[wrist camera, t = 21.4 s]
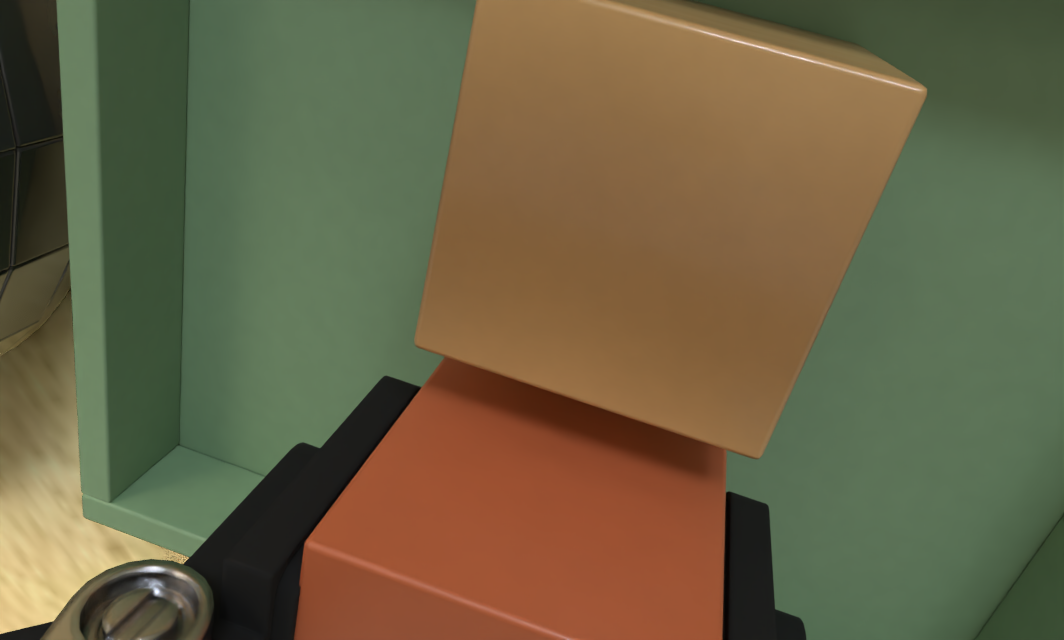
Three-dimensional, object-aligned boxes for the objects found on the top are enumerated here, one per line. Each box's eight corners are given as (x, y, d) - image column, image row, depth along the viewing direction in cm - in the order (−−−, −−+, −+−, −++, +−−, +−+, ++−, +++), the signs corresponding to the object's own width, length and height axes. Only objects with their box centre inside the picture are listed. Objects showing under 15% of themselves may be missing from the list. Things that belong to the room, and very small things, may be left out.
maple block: (567, -34, 10) (479, -34, 7) (863, 45, 10) (933, 87, 6) (504, 238, 12) (410, 348, 9) (753, 315, 12) (761, 465, 8)
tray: (181, -325, 11) (32, -404, 8) (1471, -21, 9) (1722, -16, 6) (169, 444, 16) (81, 518, 14) (933, 719, 15) (969, 853, 12)
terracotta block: (445, 352, 11) (300, 541, 7) (728, 445, 10) (724, 697, 7) (402, 562, 12) (270, 796, 9) (641, 649, 12) (601, 933, 8)
